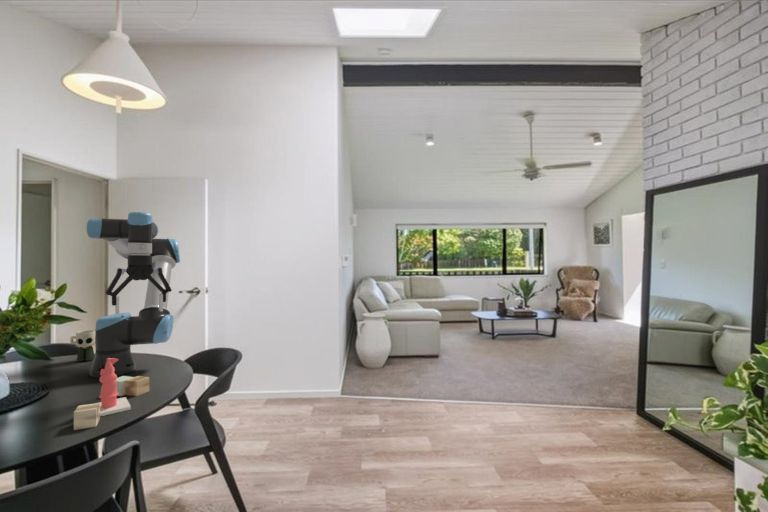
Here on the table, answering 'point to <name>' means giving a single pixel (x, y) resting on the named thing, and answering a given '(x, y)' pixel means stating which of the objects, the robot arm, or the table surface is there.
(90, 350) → the character mug
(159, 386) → the table surface
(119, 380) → the sage block
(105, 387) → the figurine
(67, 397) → the table surface
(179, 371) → the table surface
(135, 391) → the oak block
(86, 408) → the maple block
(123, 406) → the coaster
